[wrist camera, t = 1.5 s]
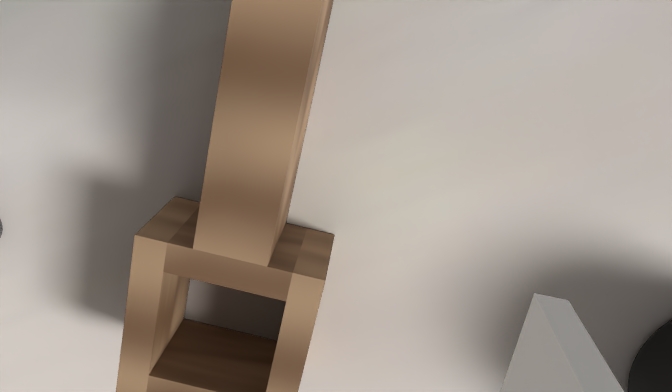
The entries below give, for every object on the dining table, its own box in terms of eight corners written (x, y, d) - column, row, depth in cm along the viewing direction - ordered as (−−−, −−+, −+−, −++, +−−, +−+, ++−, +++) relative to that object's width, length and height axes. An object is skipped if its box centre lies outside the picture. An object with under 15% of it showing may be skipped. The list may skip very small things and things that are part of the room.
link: (229, -191, 24) (191, -238, 19) (427, -143, 24) (438, -178, 19) (155, 334, 32) (115, 393, 27) (301, 369, 32) (287, 434, 27)
